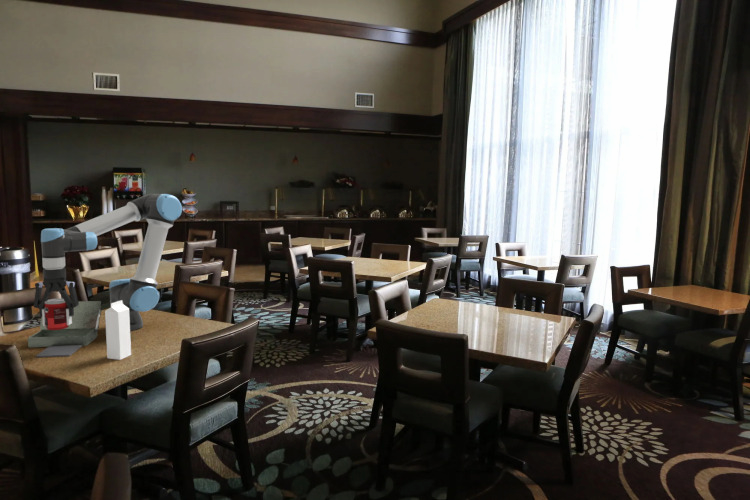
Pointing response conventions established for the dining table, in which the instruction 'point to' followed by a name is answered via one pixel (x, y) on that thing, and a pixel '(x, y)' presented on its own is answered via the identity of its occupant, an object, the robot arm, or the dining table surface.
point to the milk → (118, 331)
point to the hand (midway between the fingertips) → (57, 324)
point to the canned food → (56, 314)
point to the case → (71, 328)
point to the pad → (59, 351)
